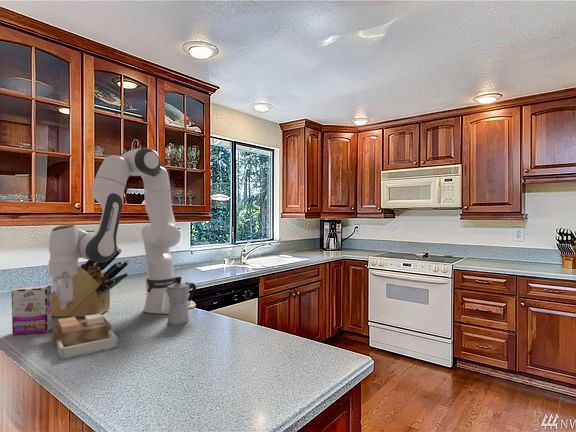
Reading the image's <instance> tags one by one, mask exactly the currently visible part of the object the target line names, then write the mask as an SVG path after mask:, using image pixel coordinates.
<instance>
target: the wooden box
mask: <svg viewBox="0 0 576 432" xmlns="http://www.w3.org/2000/svg"><path fill="white" fill-rule="evenodd" d="M102 316H103V315H102ZM103 317H104V322H103V323H98V324H92V325H87V324H86V322H85V319H81V320H77V321H78V322H79V324H80V330H79V331H73V332H68V333H62V332H61V330H60V328H59V326H58V323H57V324H52V341H53V343H54V346H55V348H56V350H57V340H61V342H62V344H63V347H67V346H72V345H77V344H82V343H87V342H92V341H97V340H102V339H106V338H108V331H109V330H112V324H111V323H110V322H109V321H108V320H107V319H106V318H105V316H103Z"/></svg>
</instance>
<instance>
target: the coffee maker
mask: <svg viewBox="0 0 576 432" xmlns="http://www.w3.org/2000/svg"><path fill="white" fill-rule="evenodd" d="M175 277H176V283H175V284H172V285H169V286H167V289H165V291H166V292H167V294H168V296H169V302H170V303H171V305H170V309H169V314H167V324H169V325H171V326H175V325H176V326H178V325H184V323H185V324H187V323H189V321H190V315H189V309H188V308H187V304H186V302H187V301H192V299H193V296H194V295H195V292H196V290H197V286H196V284H195V283H194V282H187V281H186V282H182V278H183V277H182V276H175ZM190 290H191V291H190ZM188 295H189V298H188Z"/></svg>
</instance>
